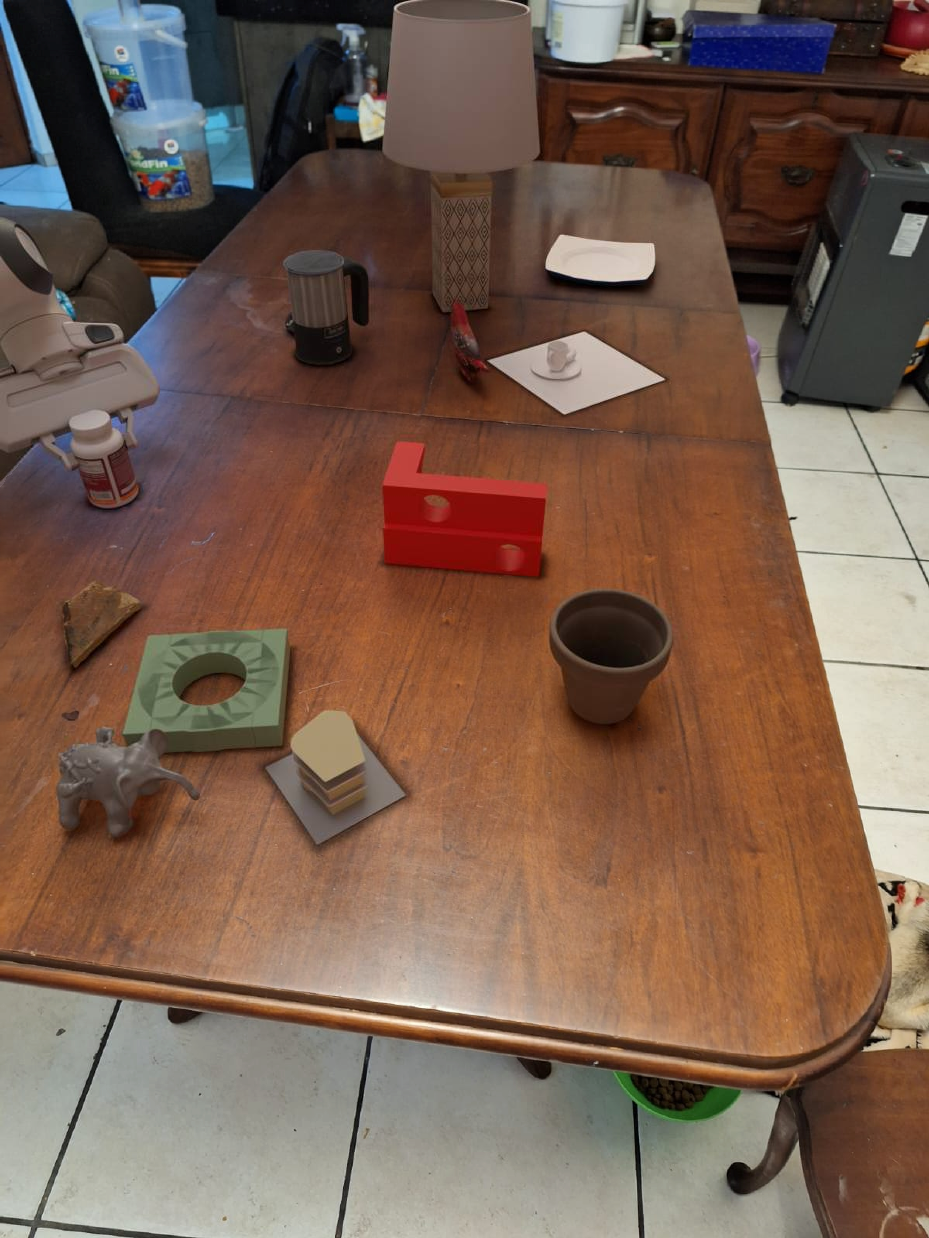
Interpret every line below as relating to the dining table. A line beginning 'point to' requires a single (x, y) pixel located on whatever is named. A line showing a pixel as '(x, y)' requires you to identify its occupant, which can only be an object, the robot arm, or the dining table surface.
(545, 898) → the dining table surface
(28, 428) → the robot arm
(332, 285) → the milk frother
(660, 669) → the flower pot
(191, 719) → the socket pad
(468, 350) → the decorative bird figurine
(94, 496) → the pill bottle
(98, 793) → the gray elephant figurine
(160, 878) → the dining table surface
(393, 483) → the bracket
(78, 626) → the shard
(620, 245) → the plate
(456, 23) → the lamp
